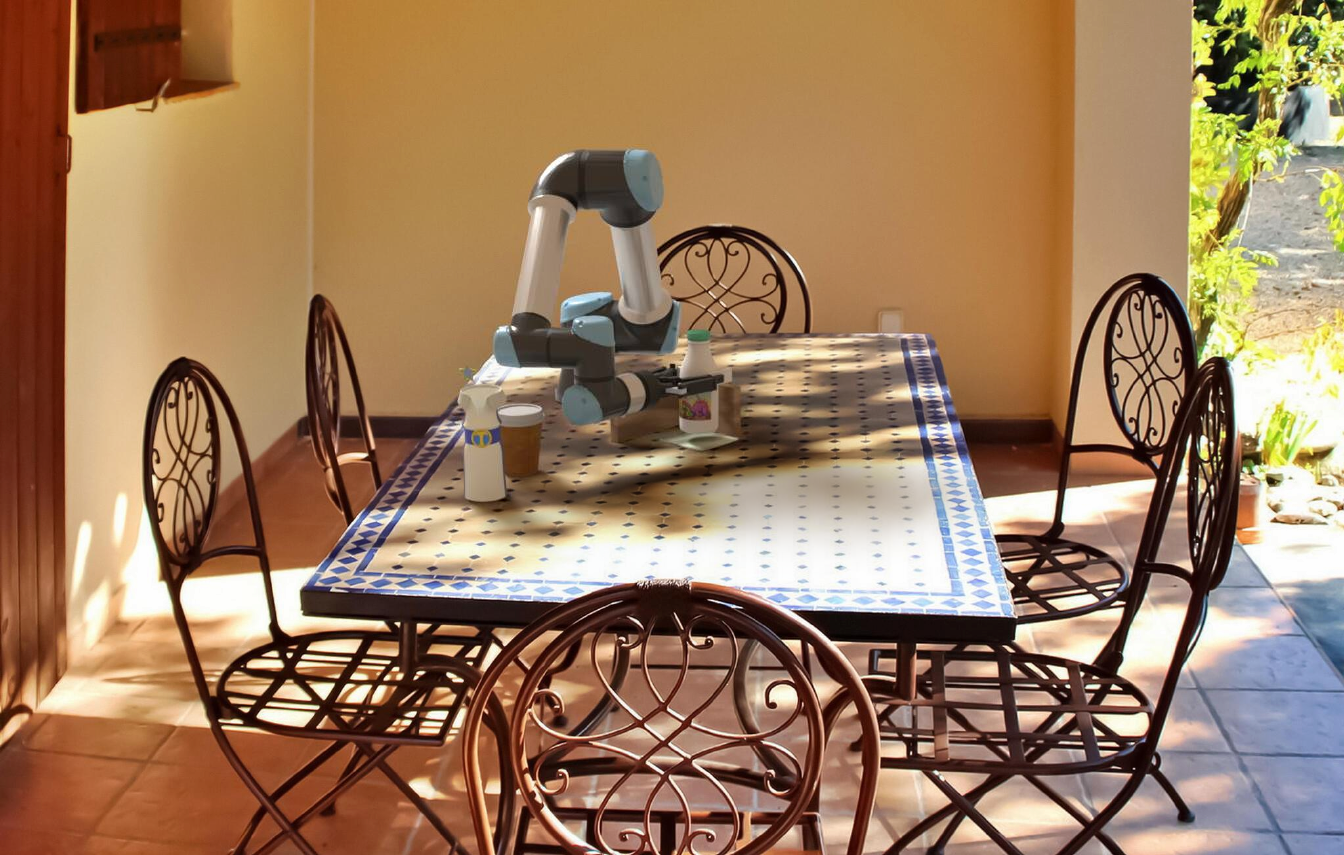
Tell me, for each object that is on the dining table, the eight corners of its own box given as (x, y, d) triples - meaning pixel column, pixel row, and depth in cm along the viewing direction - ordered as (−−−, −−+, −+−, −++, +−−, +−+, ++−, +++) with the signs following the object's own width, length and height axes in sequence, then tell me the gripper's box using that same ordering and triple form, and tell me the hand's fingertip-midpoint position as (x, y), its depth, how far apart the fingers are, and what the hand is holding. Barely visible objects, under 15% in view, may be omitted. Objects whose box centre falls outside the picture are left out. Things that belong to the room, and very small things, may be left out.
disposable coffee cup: (496, 464, 273) (493, 403, 270) (546, 463, 274) (544, 402, 271) (494, 480, 264) (491, 417, 261) (546, 478, 265) (544, 415, 262)
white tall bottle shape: (510, 501, 253) (503, 362, 246) (461, 503, 252) (453, 364, 245) (511, 486, 260) (505, 352, 254) (464, 488, 260) (456, 353, 253)
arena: (610, 441, 288) (609, 392, 285) (683, 419, 302) (682, 373, 299) (677, 459, 275) (676, 408, 272) (749, 436, 290) (749, 388, 287)
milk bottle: (693, 422, 291) (693, 325, 286) (725, 427, 287) (725, 329, 282) (672, 431, 285) (671, 332, 280) (704, 436, 281) (704, 336, 276)
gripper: (597, 402, 279) (679, 381, 295) (672, 420, 265) (753, 397, 281) (596, 364, 277) (678, 345, 293) (671, 381, 263) (754, 360, 279)
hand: (715, 371), depth 287 cm, fingers closed on milk bottle, 7 cm apart
